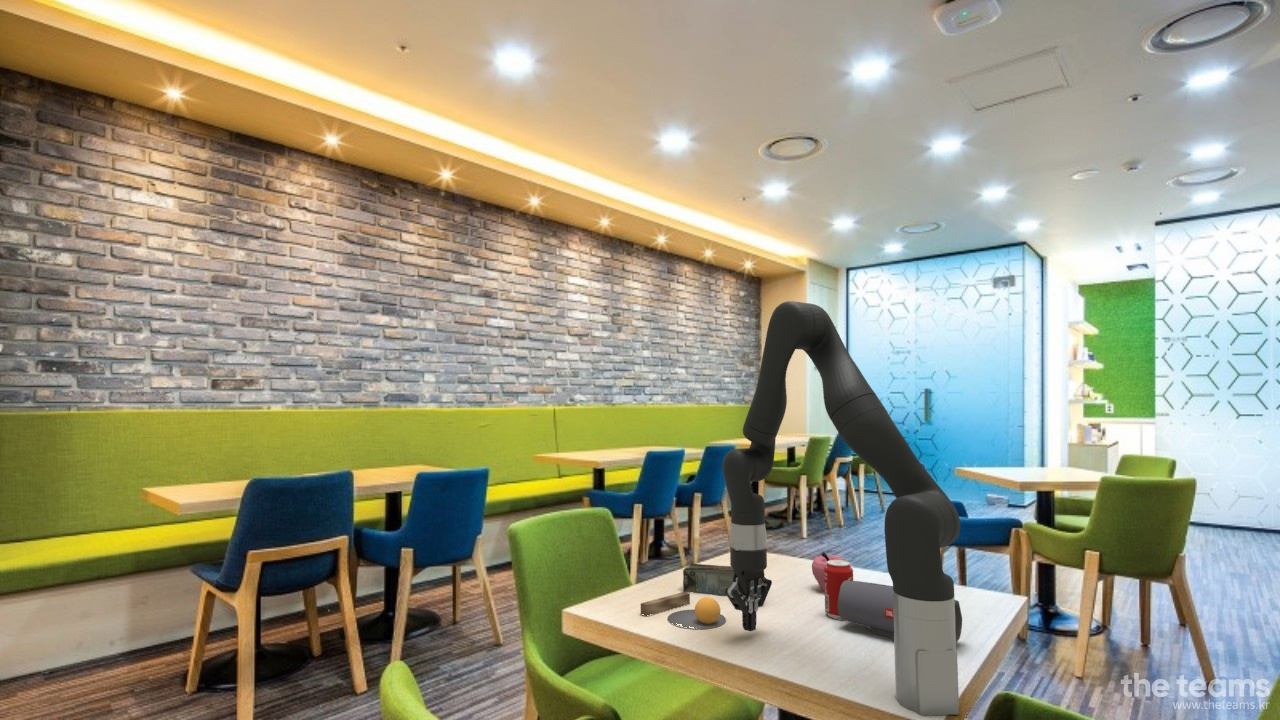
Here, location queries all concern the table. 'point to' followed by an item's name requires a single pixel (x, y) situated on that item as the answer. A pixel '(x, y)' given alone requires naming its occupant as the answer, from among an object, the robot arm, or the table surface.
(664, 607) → the wooden bar
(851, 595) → the bluetooth speaker
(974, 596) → the table surface
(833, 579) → the beverage can
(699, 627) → the mark
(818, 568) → the apple
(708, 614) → the ball
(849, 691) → the table surface
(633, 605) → the table surface
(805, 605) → the table surface
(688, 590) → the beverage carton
